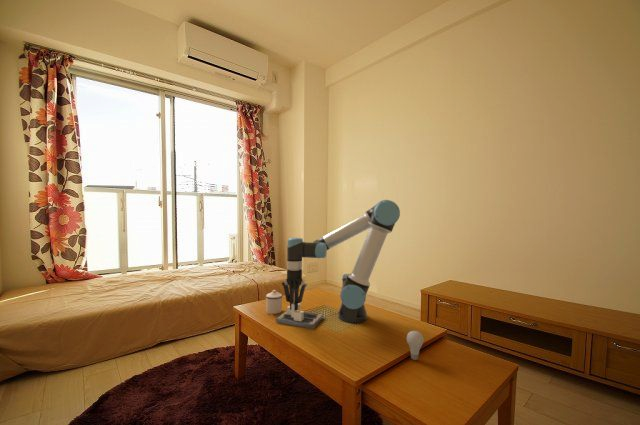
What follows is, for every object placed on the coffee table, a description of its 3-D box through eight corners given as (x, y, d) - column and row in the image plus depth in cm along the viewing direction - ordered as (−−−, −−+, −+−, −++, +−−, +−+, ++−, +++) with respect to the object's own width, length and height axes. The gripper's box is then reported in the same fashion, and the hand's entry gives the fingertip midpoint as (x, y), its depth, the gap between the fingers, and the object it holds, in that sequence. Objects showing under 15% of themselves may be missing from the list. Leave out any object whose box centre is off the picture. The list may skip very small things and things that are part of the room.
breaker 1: (296, 314, 145) (296, 306, 145) (293, 316, 142) (293, 307, 142) (289, 313, 146) (289, 305, 146) (286, 314, 144) (286, 306, 144)
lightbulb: (409, 354, 110) (410, 326, 110) (425, 359, 106) (426, 330, 106) (403, 360, 106) (404, 331, 106) (419, 366, 102) (420, 336, 102)
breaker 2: (300, 311, 150) (300, 303, 150) (297, 312, 147) (297, 304, 147) (293, 310, 151) (293, 302, 151) (290, 311, 148) (291, 303, 148)
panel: (323, 318, 146) (323, 312, 146) (312, 329, 132) (313, 323, 132) (289, 312, 153) (289, 307, 153) (275, 322, 139) (275, 316, 139)
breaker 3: (303, 319, 138) (303, 310, 138) (301, 321, 135) (301, 312, 135) (296, 318, 139) (296, 309, 139) (293, 320, 137) (293, 311, 137)
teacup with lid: (285, 311, 155) (285, 290, 155) (271, 315, 148) (272, 293, 148) (272, 306, 163) (272, 286, 163) (259, 309, 156) (259, 289, 156)
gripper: (309, 268, 140) (308, 315, 140) (286, 266, 144) (285, 312, 144) (303, 271, 133) (302, 321, 133) (279, 269, 137) (278, 317, 137)
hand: (293, 316), depth 138 cm, fingers closed
